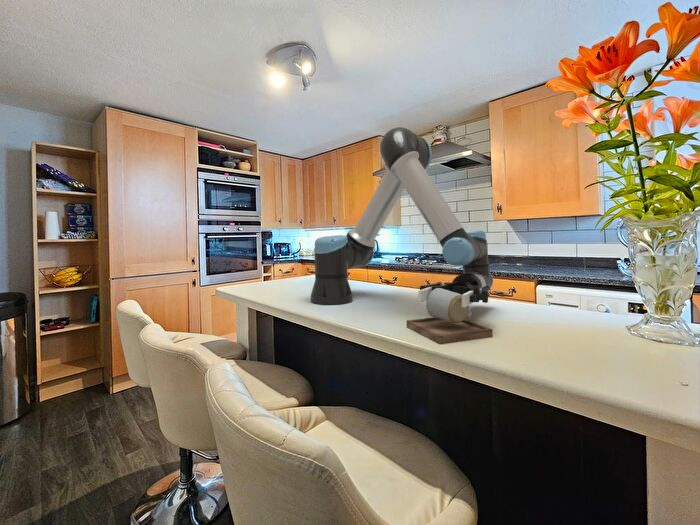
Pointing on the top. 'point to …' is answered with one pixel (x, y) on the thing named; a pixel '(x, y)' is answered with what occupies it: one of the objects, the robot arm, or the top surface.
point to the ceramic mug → (446, 306)
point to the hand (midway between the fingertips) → (440, 298)
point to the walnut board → (448, 330)
